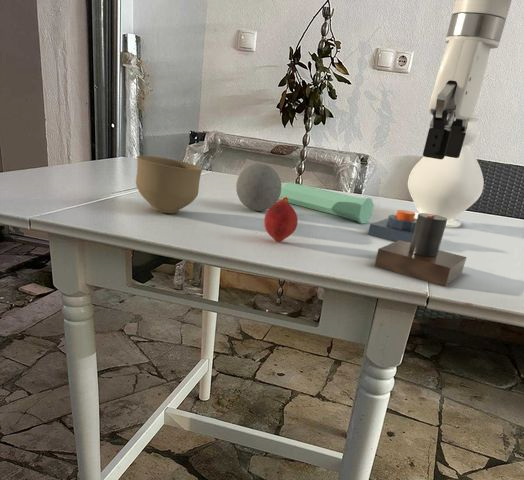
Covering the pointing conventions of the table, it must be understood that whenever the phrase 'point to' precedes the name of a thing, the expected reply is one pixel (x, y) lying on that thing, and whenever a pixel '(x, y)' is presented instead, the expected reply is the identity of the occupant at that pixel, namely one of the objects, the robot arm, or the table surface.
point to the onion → (280, 220)
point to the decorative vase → (448, 181)
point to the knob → (427, 234)
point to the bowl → (167, 183)
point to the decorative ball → (258, 187)
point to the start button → (405, 215)
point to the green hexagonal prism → (328, 201)
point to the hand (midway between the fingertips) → (441, 157)
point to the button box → (393, 229)
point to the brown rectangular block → (420, 263)
